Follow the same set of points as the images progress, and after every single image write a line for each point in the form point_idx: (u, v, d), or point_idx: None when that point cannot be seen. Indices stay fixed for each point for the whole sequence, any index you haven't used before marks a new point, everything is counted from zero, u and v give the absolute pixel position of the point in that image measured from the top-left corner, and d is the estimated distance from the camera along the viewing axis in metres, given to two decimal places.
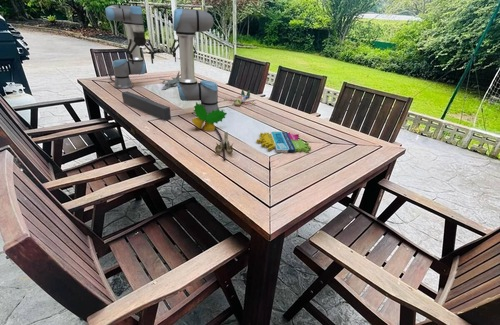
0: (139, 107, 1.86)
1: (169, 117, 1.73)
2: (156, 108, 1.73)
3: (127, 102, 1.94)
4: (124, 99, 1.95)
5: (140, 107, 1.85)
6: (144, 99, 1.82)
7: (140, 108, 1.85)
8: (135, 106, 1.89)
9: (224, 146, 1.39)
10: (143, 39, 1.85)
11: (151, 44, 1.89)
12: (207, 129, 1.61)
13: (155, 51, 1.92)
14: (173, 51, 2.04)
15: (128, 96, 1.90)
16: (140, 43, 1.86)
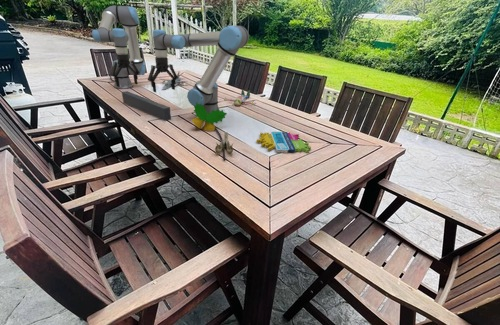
0: (139, 107, 1.86)
1: (169, 117, 1.73)
2: (156, 108, 1.73)
3: (127, 102, 1.94)
4: (124, 99, 1.95)
5: (140, 107, 1.85)
6: (144, 99, 1.82)
7: (140, 108, 1.85)
8: (135, 106, 1.89)
9: (224, 146, 1.39)
10: None
11: (113, 66, 1.79)
12: (207, 129, 1.61)
13: (111, 74, 1.79)
14: (152, 80, 1.66)
15: (128, 96, 1.90)
16: None
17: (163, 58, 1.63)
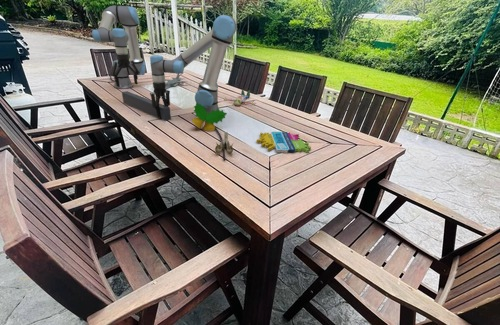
0: (139, 107, 1.86)
1: (169, 117, 1.73)
2: None
3: (127, 102, 1.94)
4: (124, 99, 1.95)
5: (140, 107, 1.85)
6: (144, 99, 1.82)
7: (140, 108, 1.85)
8: (135, 106, 1.89)
9: (224, 146, 1.39)
10: None
11: (113, 66, 1.79)
12: (207, 129, 1.61)
13: (111, 74, 1.79)
14: (157, 107, 1.69)
15: (128, 96, 1.90)
16: None
17: (161, 83, 1.62)
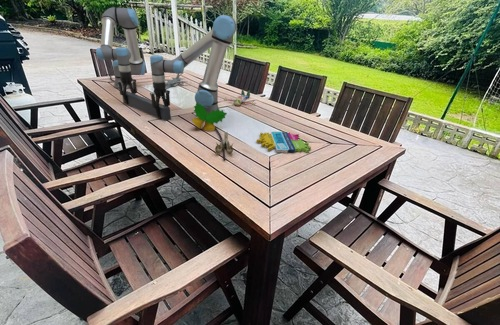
0: (139, 107, 1.86)
1: (169, 117, 1.73)
2: None
3: None
4: None
5: (140, 107, 1.85)
6: (144, 99, 1.82)
7: (140, 108, 1.85)
8: (135, 106, 1.89)
9: (224, 146, 1.39)
10: None
11: (118, 86, 1.86)
12: (207, 129, 1.61)
13: (120, 93, 1.89)
14: (157, 107, 1.69)
15: (128, 96, 1.90)
16: None
17: (161, 83, 1.62)
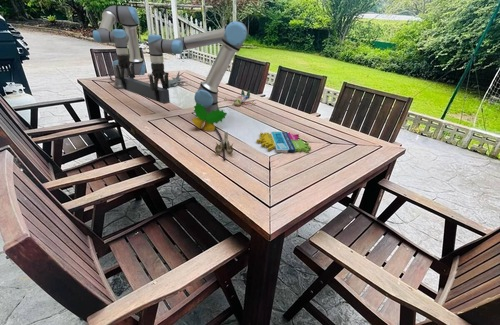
0: (137, 91, 1.81)
1: (168, 100, 1.68)
2: None
3: None
4: None
5: (138, 92, 1.80)
6: (142, 83, 1.77)
7: (138, 92, 1.80)
8: (133, 90, 1.84)
9: (224, 146, 1.39)
10: None
11: (116, 69, 1.81)
12: (207, 129, 1.61)
13: (117, 77, 1.84)
14: (156, 90, 1.64)
15: (126, 80, 1.85)
16: None
17: (160, 64, 1.57)
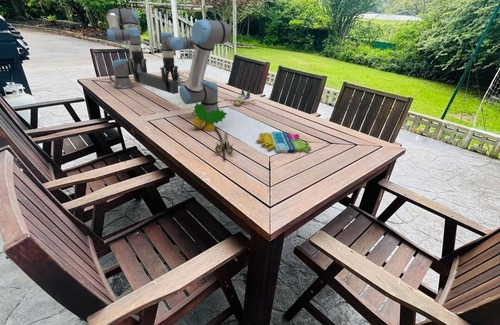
0: (149, 83, 2.02)
1: (177, 91, 1.89)
2: None
3: None
4: None
5: (150, 84, 2.02)
6: (154, 75, 1.98)
7: (150, 84, 2.02)
8: (145, 83, 2.05)
9: (224, 146, 1.39)
10: None
11: (130, 64, 2.02)
12: (207, 129, 1.61)
13: (131, 71, 2.05)
14: (166, 81, 1.84)
15: (139, 74, 2.06)
16: None
17: (171, 58, 1.78)
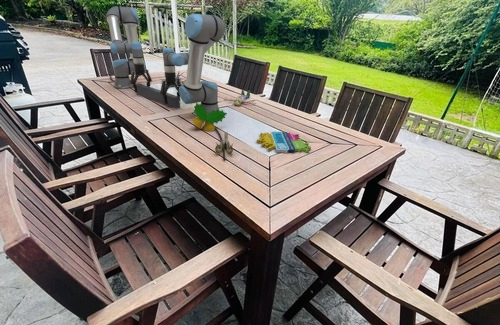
0: (151, 97, 2.08)
1: (179, 105, 1.95)
2: (167, 98, 1.95)
3: (140, 93, 2.16)
4: (137, 90, 2.17)
5: (152, 98, 2.08)
6: (156, 90, 2.04)
7: (152, 98, 2.08)
8: (148, 96, 2.11)
9: (224, 146, 1.39)
10: None
11: (131, 75, 2.06)
12: (207, 129, 1.61)
13: (130, 82, 2.08)
14: (164, 93, 1.87)
15: (141, 88, 2.12)
16: None
17: (172, 73, 1.84)
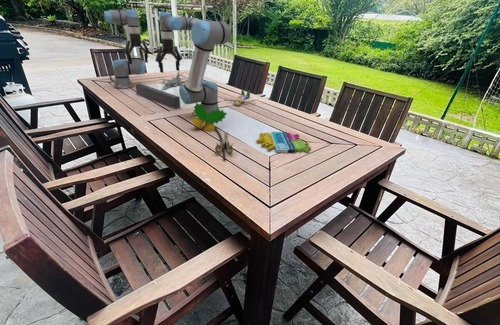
0: (151, 97, 2.08)
1: (179, 105, 1.95)
2: (167, 98, 1.95)
3: (140, 93, 2.16)
4: (137, 90, 2.17)
5: (152, 98, 2.08)
6: (156, 90, 2.04)
7: (152, 98, 2.08)
8: (148, 96, 2.11)
9: (224, 146, 1.39)
10: None
11: (126, 45, 1.95)
12: (207, 129, 1.61)
13: (124, 51, 1.96)
14: (160, 61, 1.76)
15: (141, 88, 2.12)
16: None
17: (169, 39, 1.73)
